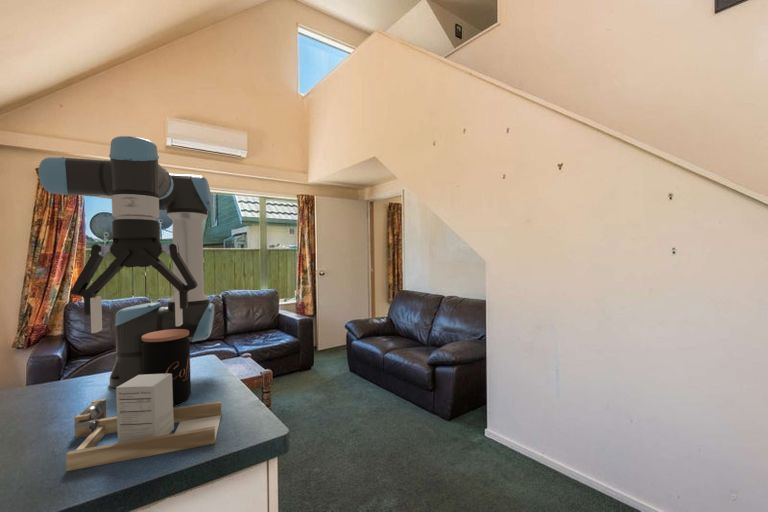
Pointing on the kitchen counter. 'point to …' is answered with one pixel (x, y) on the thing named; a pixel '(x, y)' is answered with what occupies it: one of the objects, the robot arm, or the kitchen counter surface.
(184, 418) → the bay
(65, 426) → the kitchen counter surface
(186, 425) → the front mat
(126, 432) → the supplement box
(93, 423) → the winch
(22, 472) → the kitchen counter surface
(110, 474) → the kitchen counter surface
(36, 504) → the kitchen counter surface
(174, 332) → the coffee jar
